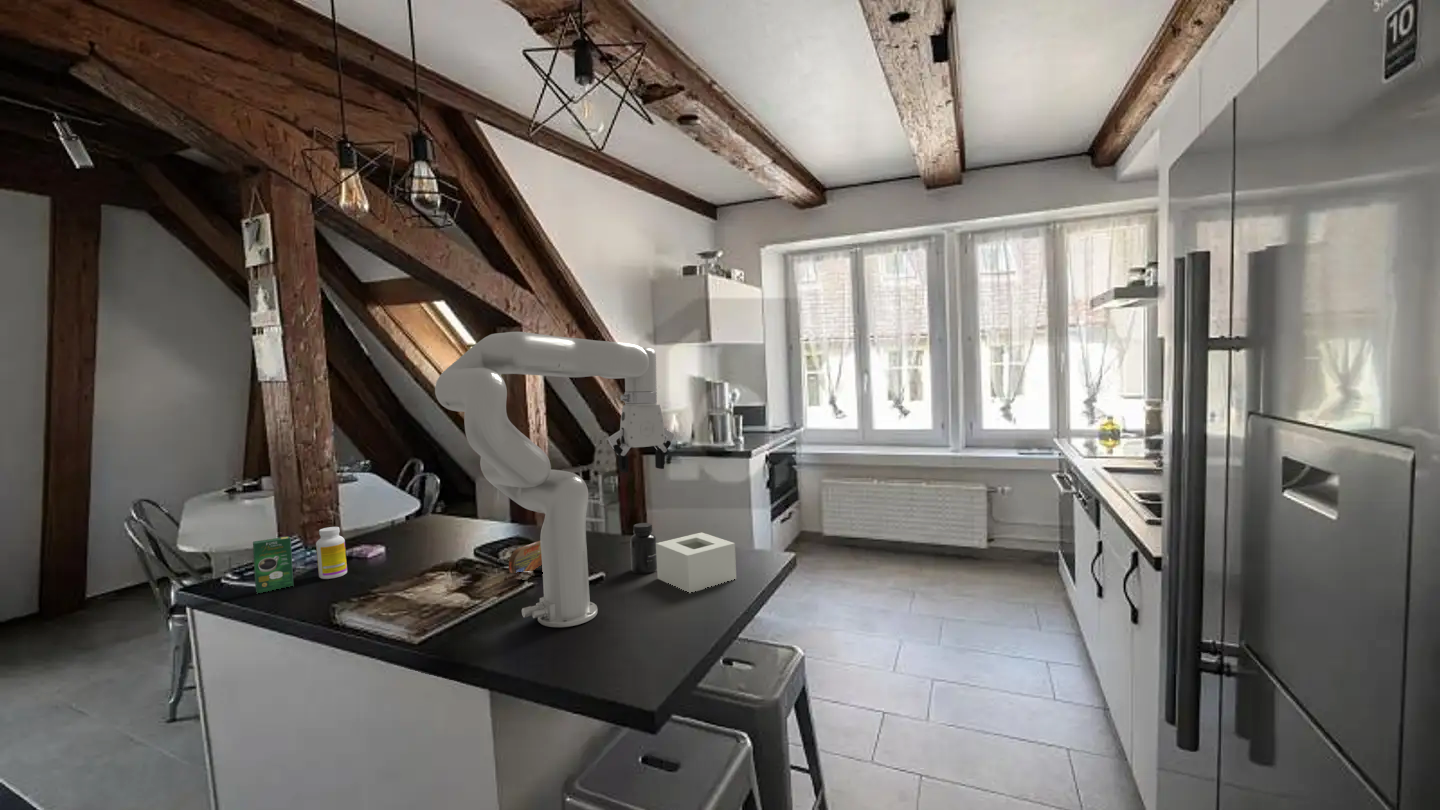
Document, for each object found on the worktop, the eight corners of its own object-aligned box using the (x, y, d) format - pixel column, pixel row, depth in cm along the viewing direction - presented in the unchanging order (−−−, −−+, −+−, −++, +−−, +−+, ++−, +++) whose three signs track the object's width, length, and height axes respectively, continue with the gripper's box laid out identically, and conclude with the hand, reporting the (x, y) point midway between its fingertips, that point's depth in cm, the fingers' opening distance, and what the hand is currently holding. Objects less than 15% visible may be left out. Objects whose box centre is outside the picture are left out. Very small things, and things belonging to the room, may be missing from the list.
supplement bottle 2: (656, 574, 165) (653, 528, 164) (629, 575, 165) (627, 528, 164) (659, 565, 172) (657, 521, 171) (633, 566, 172) (631, 522, 171)
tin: (515, 585, 161) (513, 552, 160) (507, 583, 162) (505, 550, 162) (560, 567, 173) (558, 536, 173) (552, 566, 175) (550, 535, 175)
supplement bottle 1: (352, 573, 175) (348, 527, 174) (326, 581, 170) (322, 533, 169) (339, 570, 179) (335, 524, 178) (314, 577, 173) (309, 530, 172)
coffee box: (293, 584, 169) (289, 534, 168) (295, 586, 166) (290, 536, 165) (255, 592, 164) (251, 541, 163) (256, 595, 161) (252, 543, 160)
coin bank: (689, 593, 150) (687, 555, 150) (657, 578, 161) (655, 543, 161) (736, 579, 159) (734, 543, 158) (703, 566, 170) (701, 532, 169)
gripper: (615, 400, 147) (616, 475, 148) (679, 398, 157) (681, 468, 158) (601, 400, 153) (602, 471, 154) (664, 398, 163) (665, 465, 164)
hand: (642, 470), depth 156 cm, fingers open, 9 cm apart
